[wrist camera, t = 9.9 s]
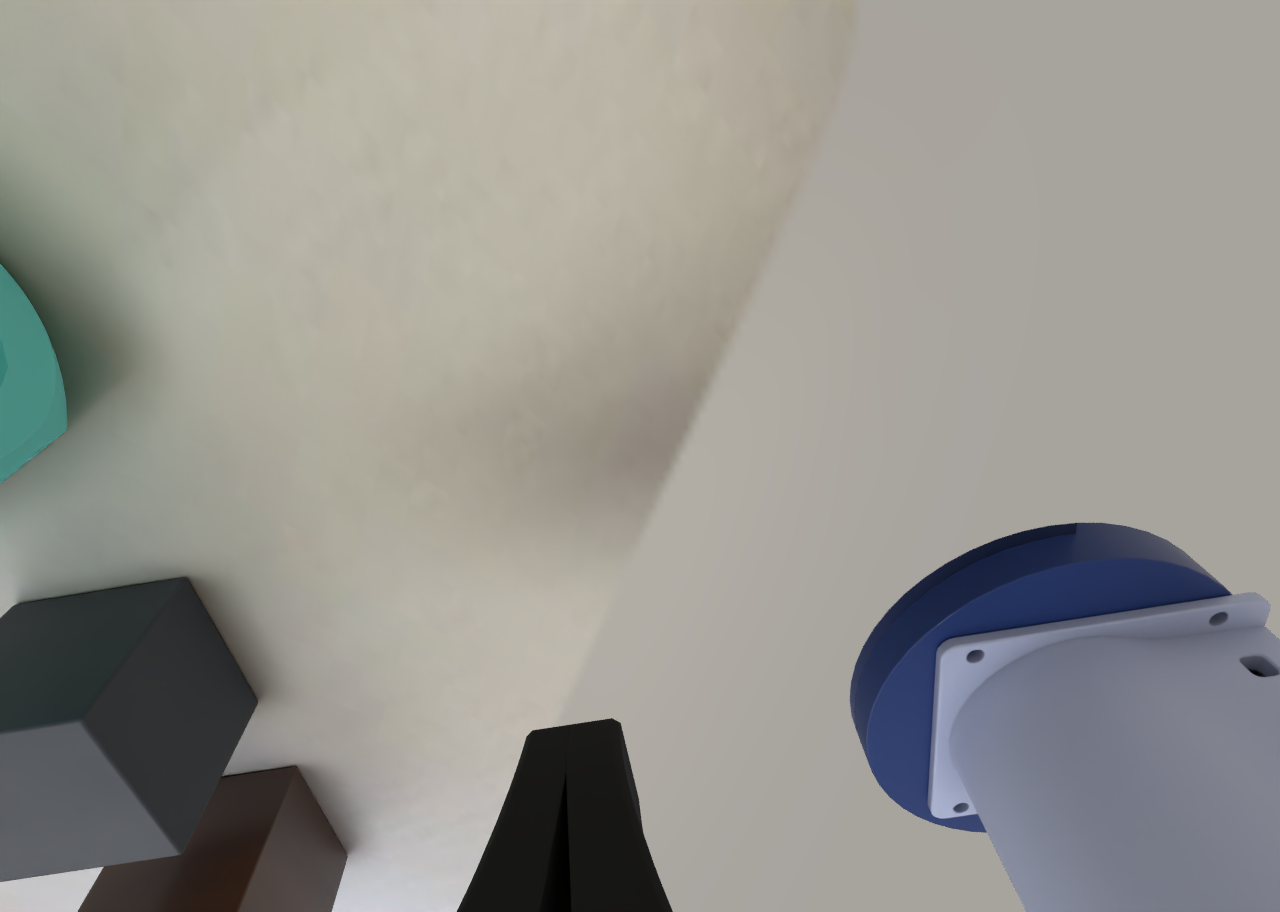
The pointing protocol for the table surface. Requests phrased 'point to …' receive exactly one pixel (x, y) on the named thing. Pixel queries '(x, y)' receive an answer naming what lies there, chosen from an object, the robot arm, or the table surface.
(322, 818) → the walnut block
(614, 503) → the table surface
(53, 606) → the grey block
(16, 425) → the decorative dice
